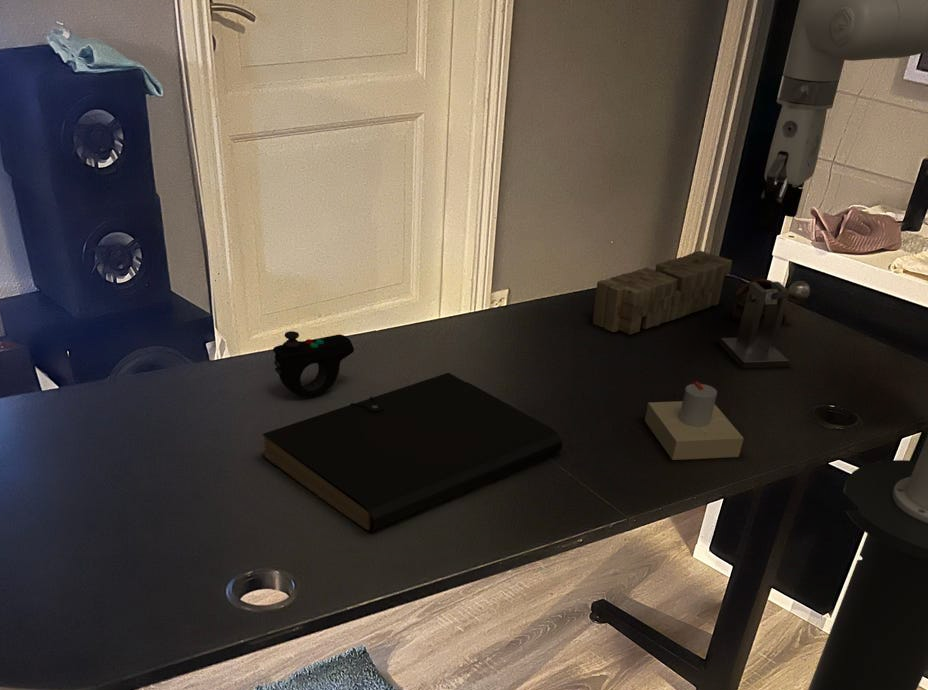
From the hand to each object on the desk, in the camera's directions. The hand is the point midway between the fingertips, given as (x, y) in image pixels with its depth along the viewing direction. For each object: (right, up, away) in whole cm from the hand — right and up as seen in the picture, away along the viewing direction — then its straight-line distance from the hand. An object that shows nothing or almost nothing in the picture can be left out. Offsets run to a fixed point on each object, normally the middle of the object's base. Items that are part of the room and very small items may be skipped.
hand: (775, 222), depth 144 cm
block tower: (-10, -2, +35) cm, 37 cm away
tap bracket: (+3, -13, +22) cm, 26 cm away
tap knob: (-13, -30, -5) cm, 34 cm away
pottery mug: (+9, -3, +35) cm, 36 cm away
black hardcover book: (-53, -37, -11) cm, 66 cm away
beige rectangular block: (-13, -33, -3) cm, 35 cm away
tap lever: (+5, -9, +11) cm, 15 cm away
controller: (-69, -25, +3) cm, 73 cm away
